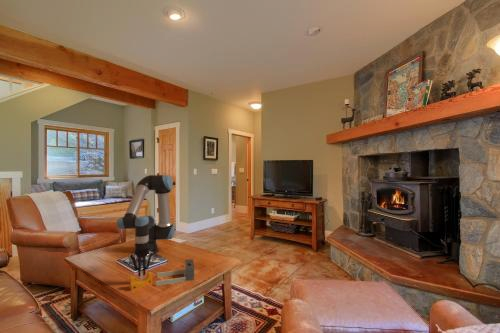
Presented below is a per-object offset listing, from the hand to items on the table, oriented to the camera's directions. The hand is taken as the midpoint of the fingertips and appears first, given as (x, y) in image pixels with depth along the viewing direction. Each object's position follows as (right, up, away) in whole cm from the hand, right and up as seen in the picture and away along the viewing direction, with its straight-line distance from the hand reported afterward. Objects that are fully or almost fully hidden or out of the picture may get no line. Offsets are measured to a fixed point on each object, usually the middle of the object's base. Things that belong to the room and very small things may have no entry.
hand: (141, 280), depth 144 cm
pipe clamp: (+2, -2, -4) cm, 4 cm away
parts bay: (+16, -1, +5) cm, 17 cm away
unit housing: (+27, -1, +9) cm, 28 cm away
